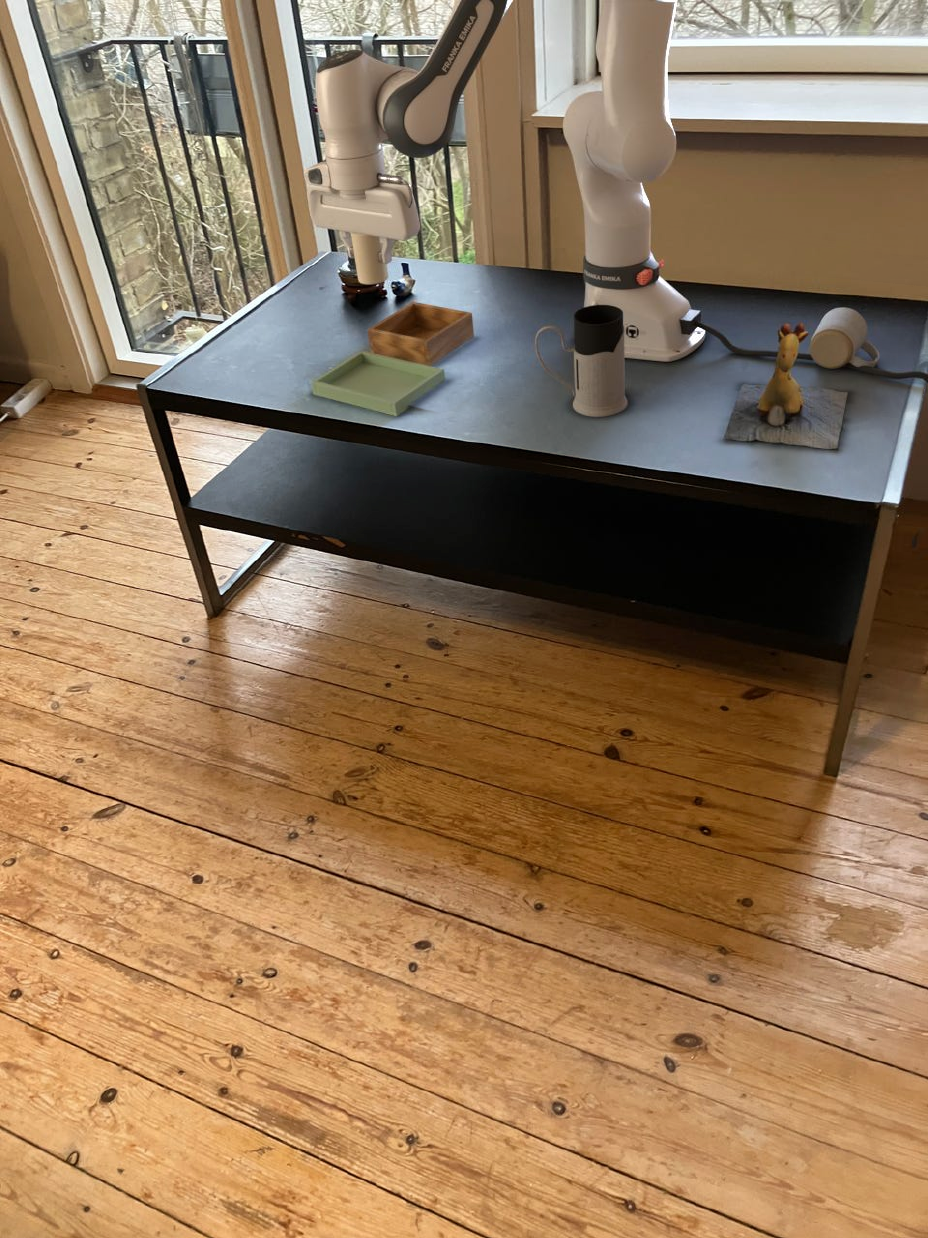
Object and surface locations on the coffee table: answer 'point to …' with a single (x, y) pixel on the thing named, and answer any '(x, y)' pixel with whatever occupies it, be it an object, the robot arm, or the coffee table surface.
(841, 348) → the ceramic mug
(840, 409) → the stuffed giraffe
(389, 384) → the tray
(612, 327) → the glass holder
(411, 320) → the wooden box
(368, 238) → the candle
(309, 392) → the coffee table surface
